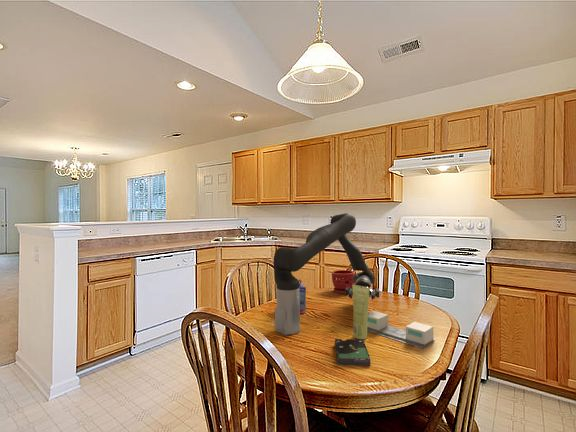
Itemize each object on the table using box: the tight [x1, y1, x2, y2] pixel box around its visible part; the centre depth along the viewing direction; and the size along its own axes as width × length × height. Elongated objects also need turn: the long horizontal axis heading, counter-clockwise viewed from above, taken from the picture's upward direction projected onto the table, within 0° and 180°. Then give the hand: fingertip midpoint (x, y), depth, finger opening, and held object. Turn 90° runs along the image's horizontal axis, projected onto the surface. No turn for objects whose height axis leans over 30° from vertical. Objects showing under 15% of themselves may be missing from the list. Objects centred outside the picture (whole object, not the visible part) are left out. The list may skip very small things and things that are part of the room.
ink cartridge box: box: [298, 278, 307, 314], centre depth 151 cm, size 10×6×14 cm, turn 15°
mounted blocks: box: [367, 310, 434, 345], centre depth 121 cm, size 7×25×4 cm, turn 43°
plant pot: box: [331, 269, 355, 295], centre depth 183 cm, size 13×13×12 cm
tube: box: [352, 283, 370, 340], centre depth 119 cm, size 6×5×20 cm
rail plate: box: [367, 324, 436, 350], centre depth 121 cm, size 10×25×1 cm, turn 43°
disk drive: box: [334, 338, 371, 367], centre depth 105 cm, size 10×3×15 cm
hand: (361, 296), depth 130 cm, fingers open, 8 cm apart
